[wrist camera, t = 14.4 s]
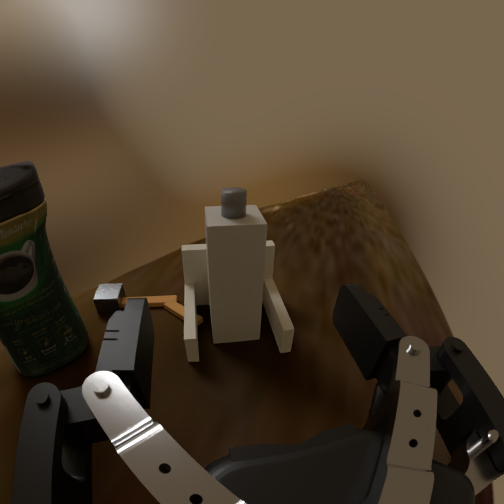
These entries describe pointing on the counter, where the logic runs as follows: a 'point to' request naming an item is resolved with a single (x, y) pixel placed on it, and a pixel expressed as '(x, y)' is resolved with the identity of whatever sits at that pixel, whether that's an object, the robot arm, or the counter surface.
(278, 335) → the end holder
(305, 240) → the counter surface
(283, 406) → the counter surface
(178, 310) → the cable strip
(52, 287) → the coffee jar
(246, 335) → the white square bottle
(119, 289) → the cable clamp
